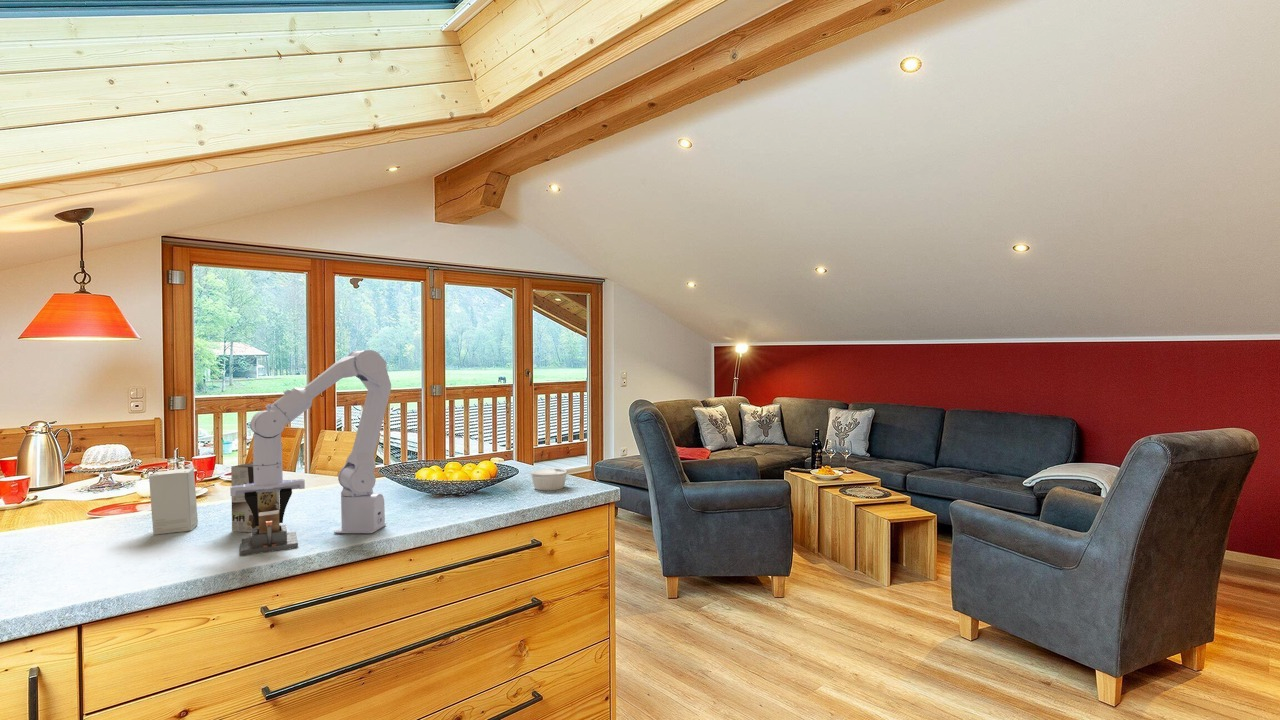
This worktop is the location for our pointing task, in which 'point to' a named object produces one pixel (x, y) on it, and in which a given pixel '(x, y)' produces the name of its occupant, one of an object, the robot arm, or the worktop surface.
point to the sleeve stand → (268, 540)
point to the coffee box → (240, 508)
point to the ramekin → (549, 479)
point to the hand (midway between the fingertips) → (269, 523)
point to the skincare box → (173, 501)
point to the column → (269, 516)
